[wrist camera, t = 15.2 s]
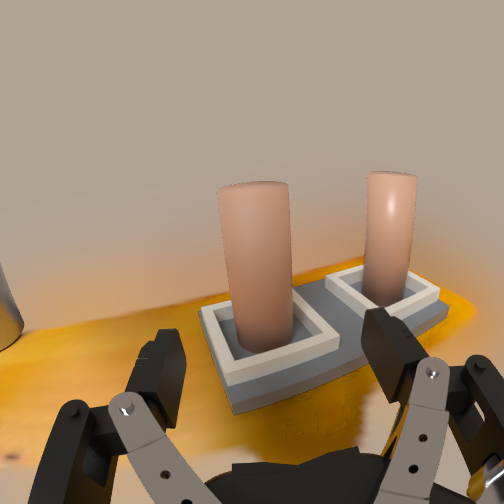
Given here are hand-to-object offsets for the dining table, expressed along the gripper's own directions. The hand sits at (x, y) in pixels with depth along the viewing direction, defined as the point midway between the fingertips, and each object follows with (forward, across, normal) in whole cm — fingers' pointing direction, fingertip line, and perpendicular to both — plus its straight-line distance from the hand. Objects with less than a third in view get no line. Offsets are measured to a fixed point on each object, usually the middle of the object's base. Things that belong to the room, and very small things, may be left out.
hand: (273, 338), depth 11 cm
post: (+11, 0, +8) cm, 14 cm away
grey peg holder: (+13, -7, +10) cm, 18 cm away
